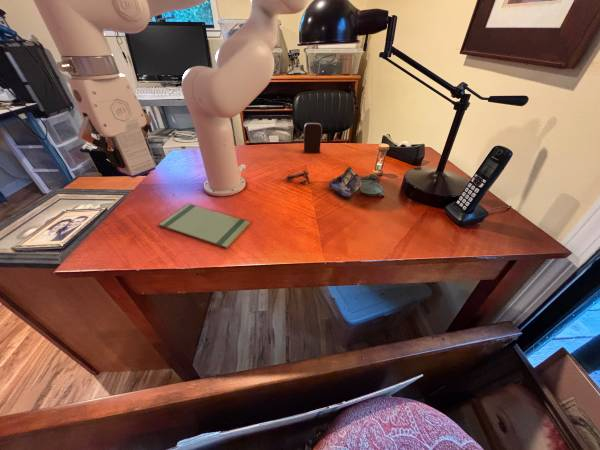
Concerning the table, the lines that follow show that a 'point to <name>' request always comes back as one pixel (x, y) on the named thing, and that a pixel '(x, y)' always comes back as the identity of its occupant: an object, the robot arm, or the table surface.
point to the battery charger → (312, 137)
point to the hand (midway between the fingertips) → (133, 160)
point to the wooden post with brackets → (299, 176)
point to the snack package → (346, 183)
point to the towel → (205, 225)
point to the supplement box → (133, 151)
